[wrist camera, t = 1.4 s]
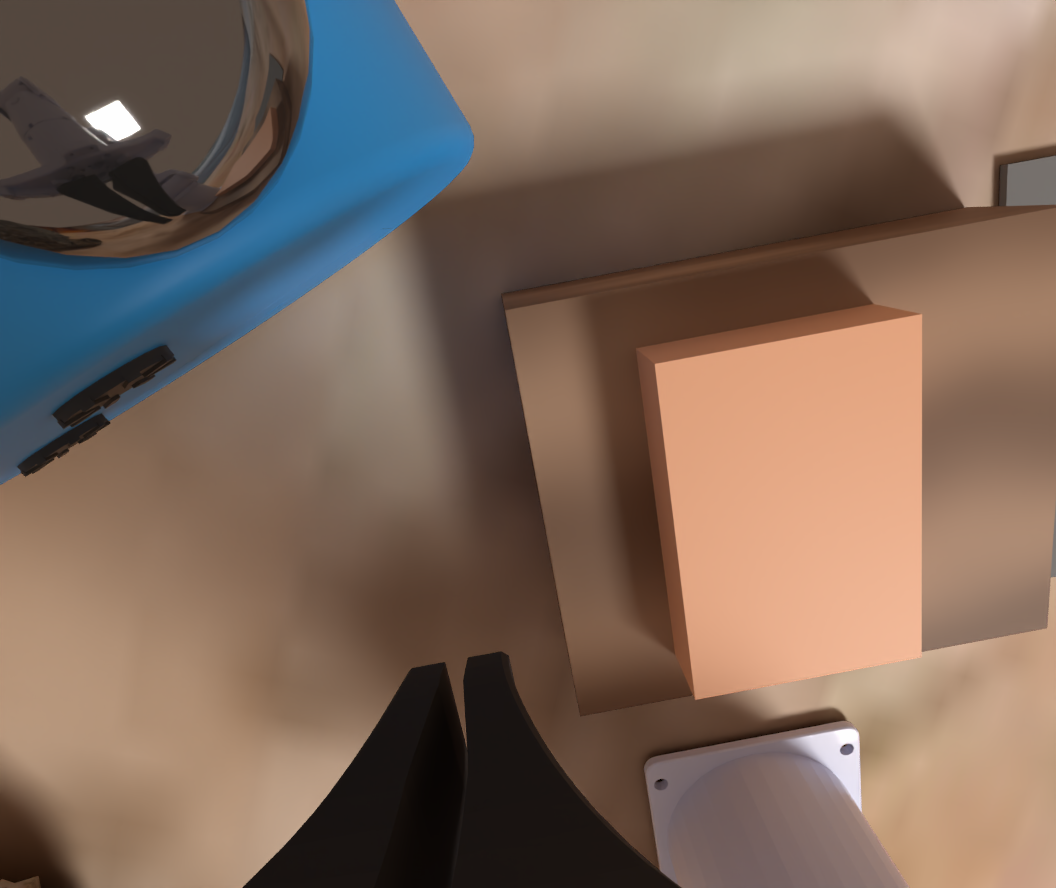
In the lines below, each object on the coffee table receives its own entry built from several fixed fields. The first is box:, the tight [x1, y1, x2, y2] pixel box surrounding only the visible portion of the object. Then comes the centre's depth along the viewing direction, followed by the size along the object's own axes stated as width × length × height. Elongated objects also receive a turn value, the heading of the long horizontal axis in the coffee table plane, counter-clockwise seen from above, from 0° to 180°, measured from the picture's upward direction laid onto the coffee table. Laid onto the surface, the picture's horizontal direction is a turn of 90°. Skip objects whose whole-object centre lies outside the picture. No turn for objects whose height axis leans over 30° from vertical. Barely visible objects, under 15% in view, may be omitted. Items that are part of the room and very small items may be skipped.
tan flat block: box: [501, 205, 1056, 716], centre depth 20 cm, size 12×14×4 cm
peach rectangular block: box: [636, 304, 922, 700], centre depth 18 cm, size 9×6×2 cm, turn 10°
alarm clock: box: [0, 0, 474, 485], centre depth 12 cm, size 13×6×15 cm, turn 122°
